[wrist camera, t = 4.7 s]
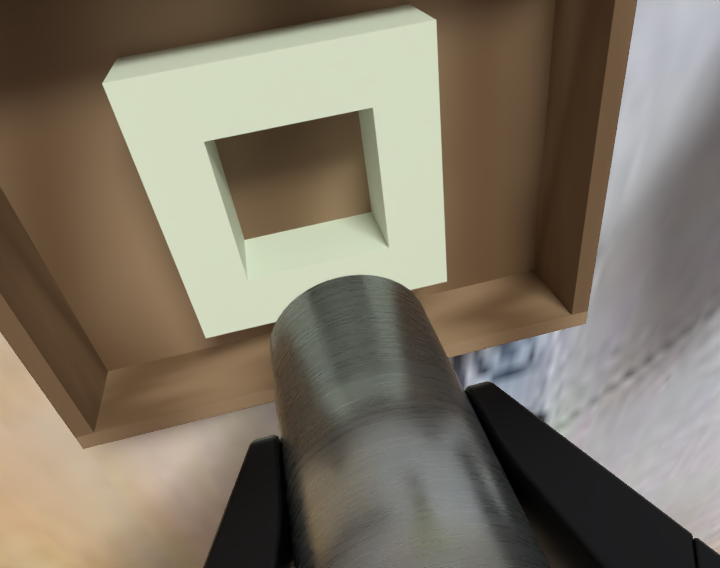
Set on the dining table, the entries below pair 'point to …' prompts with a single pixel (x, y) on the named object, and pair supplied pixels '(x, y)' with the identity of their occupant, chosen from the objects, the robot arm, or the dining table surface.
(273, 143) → the crate
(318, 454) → the peg
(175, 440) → the dining table surface
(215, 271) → the bore plate
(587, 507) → the robot arm
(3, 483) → the dining table surface
